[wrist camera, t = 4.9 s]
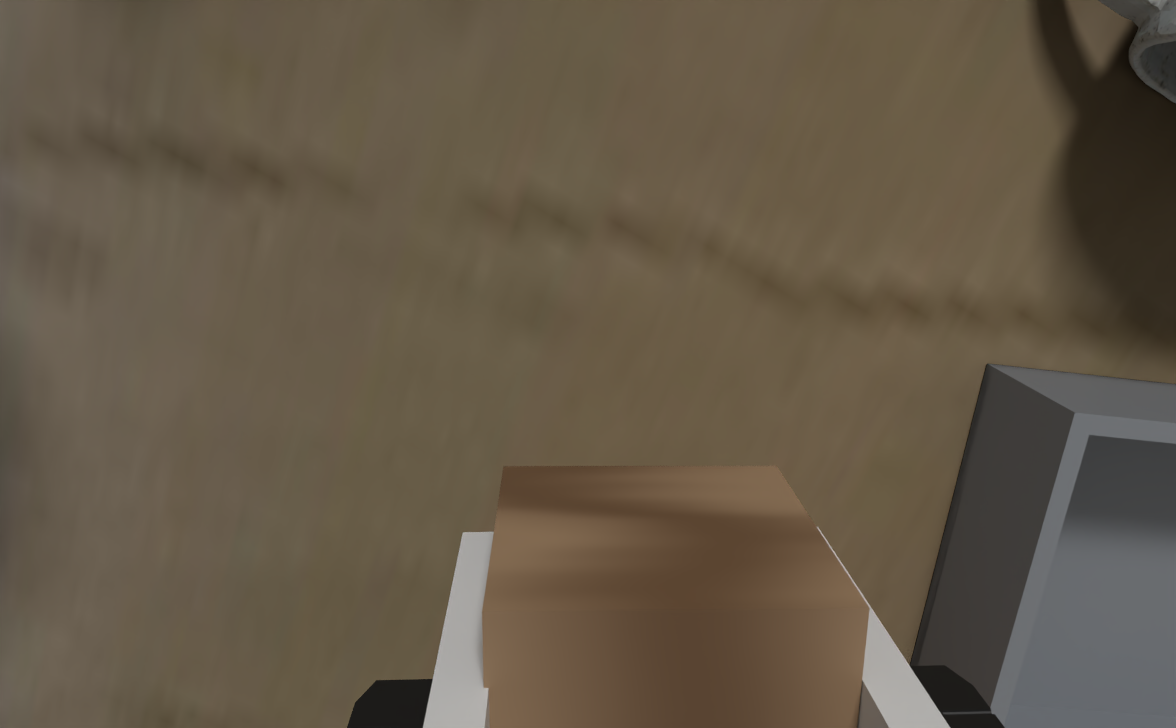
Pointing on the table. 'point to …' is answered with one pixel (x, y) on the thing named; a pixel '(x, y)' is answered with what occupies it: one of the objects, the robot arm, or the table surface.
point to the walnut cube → (666, 603)
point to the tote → (1062, 553)
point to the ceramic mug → (1152, 41)
